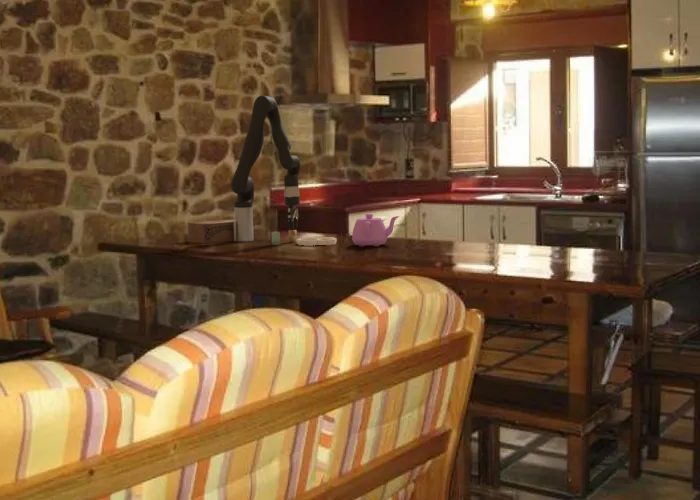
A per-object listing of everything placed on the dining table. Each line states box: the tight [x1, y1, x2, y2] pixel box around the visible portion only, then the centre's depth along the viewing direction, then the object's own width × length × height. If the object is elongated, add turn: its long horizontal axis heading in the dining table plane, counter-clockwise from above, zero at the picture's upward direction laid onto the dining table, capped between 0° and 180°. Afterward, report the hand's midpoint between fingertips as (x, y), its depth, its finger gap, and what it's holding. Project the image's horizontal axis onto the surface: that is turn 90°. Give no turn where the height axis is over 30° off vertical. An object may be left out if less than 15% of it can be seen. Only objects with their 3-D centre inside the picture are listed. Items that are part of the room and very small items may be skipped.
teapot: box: [351, 213, 400, 247], centre depth 445 cm, size 23×21×15 cm
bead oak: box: [288, 229, 298, 243], centre depth 469 cm, size 4×4×6 cm
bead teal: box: [271, 231, 281, 246], centre depth 460 cm, size 4×4×6 cm
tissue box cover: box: [187, 219, 235, 244], centre depth 484 cm, size 26×14×10 cm, turn 131°
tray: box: [296, 236, 338, 247], centre depth 459 cm, size 19×19×2 cm
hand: (293, 228), depth 468 cm, fingers open, 8 cm apart
